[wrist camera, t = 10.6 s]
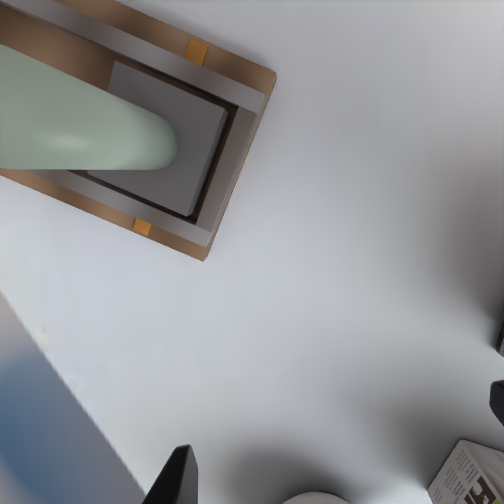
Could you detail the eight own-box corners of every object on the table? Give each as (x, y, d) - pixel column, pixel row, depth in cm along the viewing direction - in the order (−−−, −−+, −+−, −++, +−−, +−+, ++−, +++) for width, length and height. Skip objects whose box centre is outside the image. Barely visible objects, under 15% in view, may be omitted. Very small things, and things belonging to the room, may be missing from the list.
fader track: (276, 79, 17) (275, 63, 15) (207, 256, 21) (196, 268, 18) (-9, -48, 17) (-61, -87, 14) (-33, 154, 20) (-79, 151, 18)
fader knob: (230, 115, 17) (149, 24, 6) (196, 211, 19) (86, 265, 8) (133, 72, 17) (-114, -93, 6) (107, 173, 18) (-123, 177, 8)
